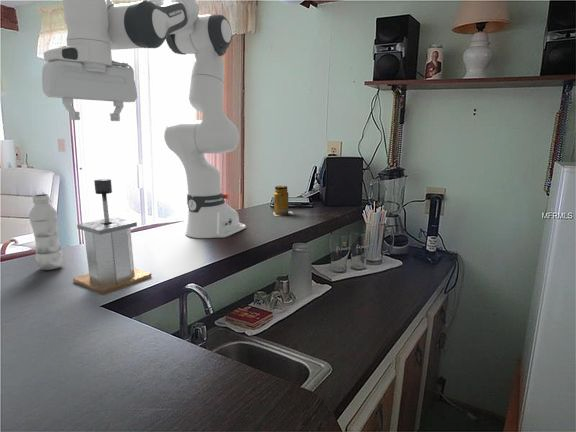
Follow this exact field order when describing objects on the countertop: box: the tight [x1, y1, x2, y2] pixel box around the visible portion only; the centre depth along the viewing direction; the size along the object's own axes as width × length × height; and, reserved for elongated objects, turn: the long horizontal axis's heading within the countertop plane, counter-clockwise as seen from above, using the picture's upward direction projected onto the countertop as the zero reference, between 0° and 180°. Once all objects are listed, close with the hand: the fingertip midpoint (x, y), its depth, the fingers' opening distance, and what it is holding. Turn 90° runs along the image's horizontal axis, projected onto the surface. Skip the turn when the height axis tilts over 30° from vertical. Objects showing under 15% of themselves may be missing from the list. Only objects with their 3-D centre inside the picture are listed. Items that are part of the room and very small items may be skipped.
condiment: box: [272, 185, 295, 217], centre depth 172 cm, size 7×8×12 cm
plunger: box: [93, 178, 113, 225], centre depth 97 cm, size 7×7×17 cm
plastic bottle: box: [28, 193, 65, 271], centre depth 106 cm, size 6×7×20 cm
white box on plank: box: [72, 216, 152, 296], centre depth 99 cm, size 13×13×14 cm
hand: (95, 120), depth 93 cm, fingers open, 8 cm apart
